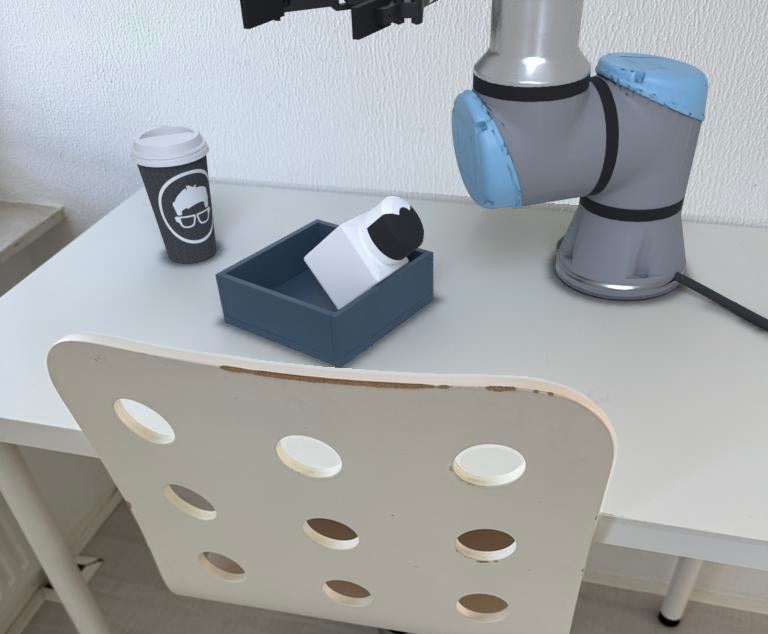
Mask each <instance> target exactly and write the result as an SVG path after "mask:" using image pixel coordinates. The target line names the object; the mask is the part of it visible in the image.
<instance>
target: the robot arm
mask: <svg viewBox="0 0 768 634" xmlns="http://www.w3.org/2000/svg"><path fill="white" fill-rule="evenodd" d="M436 1H437V2H439V1H438V0H343V2H340V0H239V5H240V12H241V13H240V14H241V19H242V27H243V29H244V30H251V29H255V28H257V27H259V26H262V25H265V24H268V23H270V22H272V21H274V22H281V18H283V17H285V16H286V14H285V13H292V12H299V11H307V10H316V9H323V8H331V9H332V10H334V11H335V12H341V11H349V10H350V16H351V17H350V18H351V19H350V20H351V34H352V35H351V37H352V40H356V41H360V40H362V39H364V38H366V37H368V36H371V35H372V34H375V33H377V32H380V31H382V30H384V29H386V28H388V27H391V25H392V24H395V25H402V24H405V20H406V19H410V23H411V24H414V25H415V26H417V25H421V24H422V23H424V12H425V8H427V7H428V6H430V5H432V4H434V2H435V3H437V2H436ZM584 3H585V2H584V0H491V7H490V8H491V12H490V29H489V30H490V32H489V46H488V47H487V50H486V51H485V52H484V54H483V55H481V57H479V59H477V61H476V62H475V63H474V64H473V70H472V89H464V91H462V92H460V93H459V94H457V95H456V96H455V98H454V101H453V107H452V109H451V136H452V137H451V138H452V143H453V150H454V155H455V160H456V163H457V168H458V171H459V175H460V177H461V180H462V183H463V185H464V188H465V190H466V191H467V193H468V195H469V197H470V198H471V199H472V201H473V202H474V203H475V204H476V205H477V206H479V207H481V208H482V209H485V210H499V209H509V208H510V209H511V208H512V209H514V210H518V209H521V208H522V207H527V206H534V205H541V204H545V203H552V202H553V203H554V202H559V201H564V200H571V199H577V198H579V200H578V205H577V208H576V210H575V212H574V215H573V216H572V219H571V221H570V223H569V225H568V227H567V229H566V231H565V233H564V235H563V236H561V237H560V239H558V240H557V243H556V246H555V249H554V252H556V260H555V272H556V275H557V276H558V278H559V279H560V280H561V281H562V282H563V283H564V284H566V285H567V286H568V287H570V288H572V289H574V290H576V291H578V292H580V293H583V294H586V295H589V296H592V297H597V298H601V299H607V300H618V301H638V300H645V299H646V300H647V299H652V298H657V297H660V296H663V295H665V294H667V293H669V292H672V291H673V290H675V289H676V288H677V287H678V286H679V285H682V286H684V287H687V288H688V289H690V290H692V291H694V292H696V293H698V294H699V295H702V296H704V297H705V298H707V299H709V300H711V301H712V302H714V303H716V304H718V305H719V306H721V307H723V308H725V309H727V310H729V311H731V312H732V313H735V314H737V315H738V316H740V317H741V318H743V319H745V320H747V321H749V322H752V323H753V324H754V325H757V326H759V327H760V328H763V329H764V330H767V331H768V318H766V317H764V316H762V315H761V314H759V313H757V312H755V311H752V310H751V309H750V308H747V307H745V306H744V305H741V304H739V303H737V302H735V301H734V300H732V299H730V298H729V297H727V296H725V295H723V294H721V293H719V292H718V291H715V290H714V289H712V288H710V287H708V286H707V285H704V284H702V283H701V282H699V281H696V280H695V279H693V278H691V277H689V276H687V275H685V274H684V273H685V269H686V265H687V257H686V249H685V248H686V247H685V238H684V228H683V219H682V211H683V206H684V202H685V197H686V194H687V189H688V185H689V180H690V175H691V171H692V167H693V163H694V158H695V153H696V150H697V145H698V141H699V137H700V132H701V129H702V125H703V122H704V121H705V119H706V114H705V113H706V106H707V100H708V92H709V81H708V77H707V76H706V74H705V73H704V72H703V71H702V70H701V69H699V68H698V67H696V66H694V65H693V64H690V63H687V62H685V61H682V60H678V59H674V58H670V57H665V56H661V55H656V54H655V55H654V54H648V53H639V52H610V53H607V54H604V55H601V57H599V59H598V61H597V64H596V66H595V67H594V71H595V73H596V74H595V75H593V76H592V75H591V73H592V64H591V62H590V61H589V60H588V58H587V57H586V56H585V55H584V53H583V52H582V51H581V48H580V46H579V42H580V37H581V36H580V34H581V26H582V18H583V10H584Z"/></svg>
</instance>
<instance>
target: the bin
mask: <svg viewBox="0 0 768 634" xmlns="http://www.w3.org/2000/svg"><path fill="white" fill-rule="evenodd" d="M339 225H340V224H336V223H333V222H330V221H325V220H322V219H319V218H316V219H315V220H313V221H311V222H309V223H307V224H305V225H303V226H301V227H300V228H298V229H296V230H294V231H292V232H290V233H288V234H287V235H285V236H283V237H281V238H279V239H277V240H275V241H274V242H272V243H270V244H268V245H267V246H265V247H263V248H261V249H259V250H258V251H256V252H253V253H252V254H250V255H248V256H247V257H244V258H243V259H241V260H239V261H237V262H235V263H233V264H232V265H230V266H228V267H226V268H224V269H222V270H221V271H219V272H217V273H215V274H214V275H215V281H216V286H217V290H218V291H217V292H218V295H219V300H220V304H221V305H220V306H221V309H222V314H223V319H224V323H227V324H229V325H232V326H234V327H237V328H239V329H242V330H244V331H246V332H249V333H252V334H254V335H257V336H258V337H262V338H265V339H267V340H269V341H272V342H275V343H277V344H279V345H282V346H285V347H287V348H290V349H292V350H294V351H297V352H300V353H302V354H304V355H307V356H309V357H313V358H315V359H318V360H321V361H323V362H325V363H328V364H330V365H332V366H335V367H338V368H342V367H344V366H345V365H347V364H348V363H349V362H350V361H352V360H353V359H354V358H356V357H357V356H359V355H360V354H362V353H363V352H364V351H365V350H366V349H368V348H370V347H371V346H372V345H374V344H375V343H376V342H377V341H379V340H380V339H382V338H383V337H385V336H386V335H387V334H389V333H390V332H392V331H393V330H395V328H396V327H398V326H399V325H401V324H402V323H404V322H405V321H406V320H407V319H409V318H410V317H413V315H414V314H416V313H417V312H419V311H420V310H421V309H423V308H424V307H425V306H427V305H428V304H430V303H431V302H432V301H433V300H434V252H433V251H431V250H427V249H424V248H420V247H418V248H417V249H416V250H414V251H413V252H412V253H410V254H409V255H408V256H407V258H408V260H409V263H408V264H407V265H405V266H404V267H402V268H401V269H399V270H398V271H396V272H395V273H393V274H392V275H390V276H389V277H387V278H386V279H384V280H383V281H381V282H380V283H378V284H377V285H375V286H374V287H372V288H371V289H369V290H368V291H366V292H365V293H363V294H362V295H360V296H359V297H357V298H356V299H354V300H353V301H351V302H350V303H348V304H347V305H345V306H344V307H342V308H341V309H339V310H338V309H337V308H336V306H335V305H334V303H333V302H332V300H331V299H330V298H329V296H328V295H327V293H326V292H325V290H324V289H323V287H322V286H321V284H320V283H319V281H318V280H317V279H316V277H315V276H314V274H313V273H312V271H311V270H310V268H309V267H308V265H307V264H306V262H305V261H304V257H305V256H306V255H307V254H308V253H309V252H310V251H312V250H313V249H314V248H315V247H316V246H317V245H318V244H319V243H320V242H322V241H323V240H324V239H325V238H326V237H327V236H328V235H329V234H330V233H332V232H333V231H334V230H335V229H336V228H337V227H338V226H339Z"/></svg>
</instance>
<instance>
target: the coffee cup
mask: <svg viewBox="0 0 768 634" xmlns="http://www.w3.org/2000/svg"><path fill="white" fill-rule="evenodd" d="M209 152H210V146H209V144H208V142H207V141H206V139H205V138H204V137H203V136H202V135H201V132H200V130H199V129H198V128H196V127H195V126H192V125H187V124H165V125H159V126H154V127H151V128H147V129H144V130H142V131H140V132H138V133H136V134H135V135H134V137H133V145H132V146H131V151H130V159H131V162H133V163H134V164H136V165H137V169H138V170H139V174H140V177H141V180H142V183H143V185H144V188H145V191H146V194H147V197H148V200H149V203H150V207H151V209H152V212H153V216H154V218H155V221H156V223H157V226H158V229H159V230H158V231H159V232H160V235H161V239H162V241H163V244H164V247H165V250H166V253H167V256H168V258H169V260H170V261H172V262H174V263H178V264H195V263H196V264H197V263H200V262H204V261H207V260H209V259H211V258H213V256H215V255H216V253H217V251H218V250H217V241H216V230H215V222H214V213H213V205H212V196H211V195H212V194H211V186H210V179H209V168H208V157H207V155H208V154H209Z"/></svg>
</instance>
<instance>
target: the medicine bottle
mask: <svg viewBox="0 0 768 634" xmlns="http://www.w3.org/2000/svg"><path fill="white" fill-rule="evenodd" d="M338 225H339V226H338V227H337V228H336V229H335V230H334V231H333V232H332V233H330V234H329V235H328V236H327V237H326V238H325V239H324V240H323V241H322V242H320V243H319V244H318V245H317V246H316V247H315V248H314V249H313V250H312V251H310V252H309V253H308V254H307V255H306V256H305V257H304V261H305V262H306V264H307V265H308V267H309V268H310V270H311V271H312V273H313V274H314V276H315V277H316V279H317V280H318V281H319V283H320V284H321V286H322V287H323V289H324V290H325V292H326V293H327V295H328V296H329V298H330V299H331V300H332V302H333V303H334V305H335V306H336V308H337V309H338V310H339V309H341V308H342V307H344V306H345V305H347V304H348V303H350V302H351V301H353V300H354V299H356V298H357V297H359V296H360V295H362V294H363V293H365V292H366V291H368V290H369V289H371V288H372V287H374V286H375V285H377V284H378V283H380V282H381V281H383V280H384V279H386V278H387V277H389V276H390V275H392V274H393V273H395V272H396V271H398V270H399V269H401V268H402V267H404V266H405V265H407V264H408V263H409V260H408V258H407V256H408V255H409V254H410V253H412V252H413V251H414V250H416V249H417V248H420V247H421V246H422V244H423V242H424V238H425V229H424V225H423V221H422V220H421V218H420V215H419V214H418V213H417V211H416V210H415V209H414V207H413V206H412V205H411V204H410V203H409V202H407V201H406V200H405V199H404V198H402V197H400V196H396V195H388V196H386V197H384V198H383V199H382V200H381V201H380V202H379V203H378V204H376V205H375V206H374V207H373V208H370V209H368V210H367V211H364V212H362V213H360V214H359V215H357V216H354V217H352V218H350V219H348V220H346V221H344V222H342V223H340V224H338Z"/></svg>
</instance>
